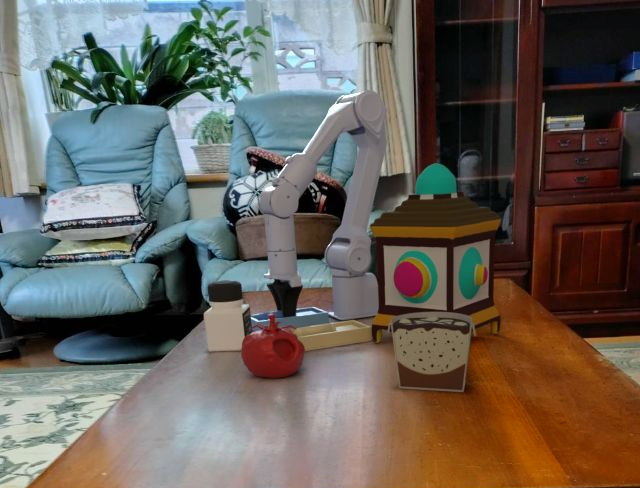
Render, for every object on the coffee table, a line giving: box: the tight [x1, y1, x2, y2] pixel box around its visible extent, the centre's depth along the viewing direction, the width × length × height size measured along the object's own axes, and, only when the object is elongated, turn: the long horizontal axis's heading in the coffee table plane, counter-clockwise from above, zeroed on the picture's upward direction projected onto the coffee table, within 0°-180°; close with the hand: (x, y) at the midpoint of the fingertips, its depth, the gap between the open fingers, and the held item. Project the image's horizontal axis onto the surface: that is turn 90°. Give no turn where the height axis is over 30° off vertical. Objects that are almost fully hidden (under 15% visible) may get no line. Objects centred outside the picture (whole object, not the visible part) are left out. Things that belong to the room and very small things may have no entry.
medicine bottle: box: [203, 279, 253, 353], centre depth 124 cm, size 7×7×12 cm
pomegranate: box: [240, 314, 306, 379], centre depth 106 cm, size 10×10×9 cm
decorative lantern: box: [369, 162, 502, 344], centre depth 120 cm, size 20×20×30 cm
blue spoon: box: [258, 310, 315, 321], centre depth 140 cm, size 12×4×3 cm, turn 116°
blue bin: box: [251, 306, 330, 333], centre depth 140 cm, size 15×8×3 cm, turn 116°
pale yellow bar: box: [294, 322, 358, 337], centre depth 125 cm, size 12×4×3 cm, turn 116°
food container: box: [387, 312, 477, 393], centre depth 97 cm, size 12×6×10 cm, turn 71°
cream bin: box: [291, 319, 373, 352], centre depth 125 cm, size 15×8×3 cm, turn 116°
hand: (287, 318), depth 140 cm, fingers closed
